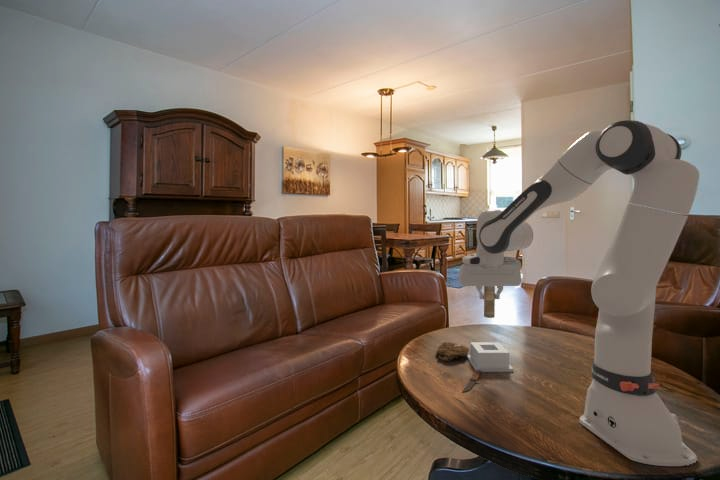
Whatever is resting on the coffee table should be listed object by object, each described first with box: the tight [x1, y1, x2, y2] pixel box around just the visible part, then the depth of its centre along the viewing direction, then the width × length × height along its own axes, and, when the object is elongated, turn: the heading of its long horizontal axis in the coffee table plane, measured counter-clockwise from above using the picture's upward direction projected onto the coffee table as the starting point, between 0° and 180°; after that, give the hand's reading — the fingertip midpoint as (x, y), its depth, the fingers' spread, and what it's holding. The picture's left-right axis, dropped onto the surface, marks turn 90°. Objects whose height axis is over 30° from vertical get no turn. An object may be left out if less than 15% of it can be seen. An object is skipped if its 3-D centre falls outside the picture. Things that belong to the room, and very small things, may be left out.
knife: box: [461, 370, 483, 393], centre depth 112 cm, size 17×1×3 cm
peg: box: [483, 286, 496, 319], centre depth 124 cm, size 3×3×12 cm
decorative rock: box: [435, 341, 470, 362], centre depth 133 cm, size 11×4×15 cm
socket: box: [466, 341, 514, 373], centre depth 125 cm, size 12×12×6 cm
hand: (489, 298), depth 124 cm, fingers closed on peg, 3 cm apart
